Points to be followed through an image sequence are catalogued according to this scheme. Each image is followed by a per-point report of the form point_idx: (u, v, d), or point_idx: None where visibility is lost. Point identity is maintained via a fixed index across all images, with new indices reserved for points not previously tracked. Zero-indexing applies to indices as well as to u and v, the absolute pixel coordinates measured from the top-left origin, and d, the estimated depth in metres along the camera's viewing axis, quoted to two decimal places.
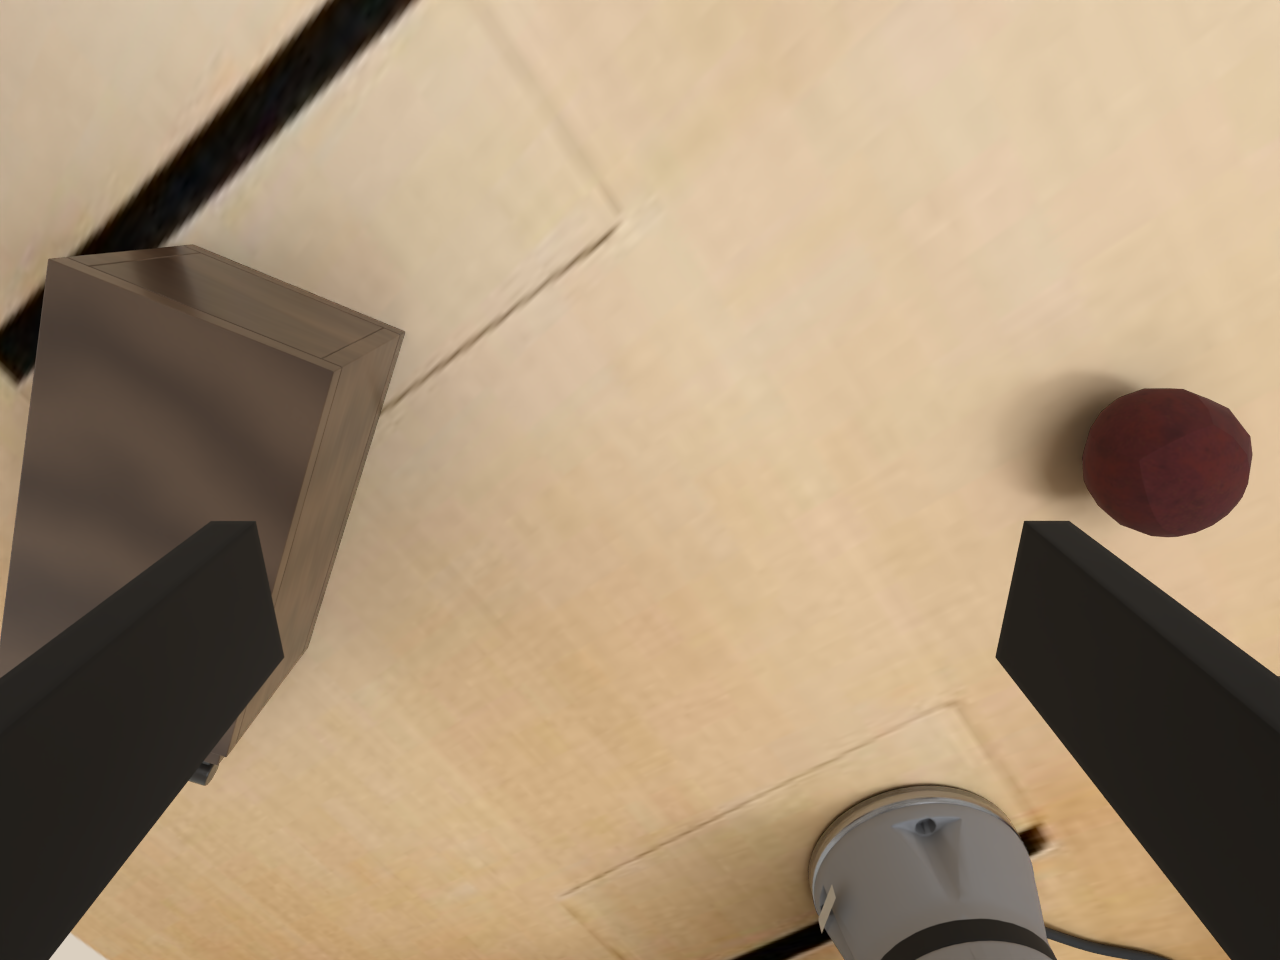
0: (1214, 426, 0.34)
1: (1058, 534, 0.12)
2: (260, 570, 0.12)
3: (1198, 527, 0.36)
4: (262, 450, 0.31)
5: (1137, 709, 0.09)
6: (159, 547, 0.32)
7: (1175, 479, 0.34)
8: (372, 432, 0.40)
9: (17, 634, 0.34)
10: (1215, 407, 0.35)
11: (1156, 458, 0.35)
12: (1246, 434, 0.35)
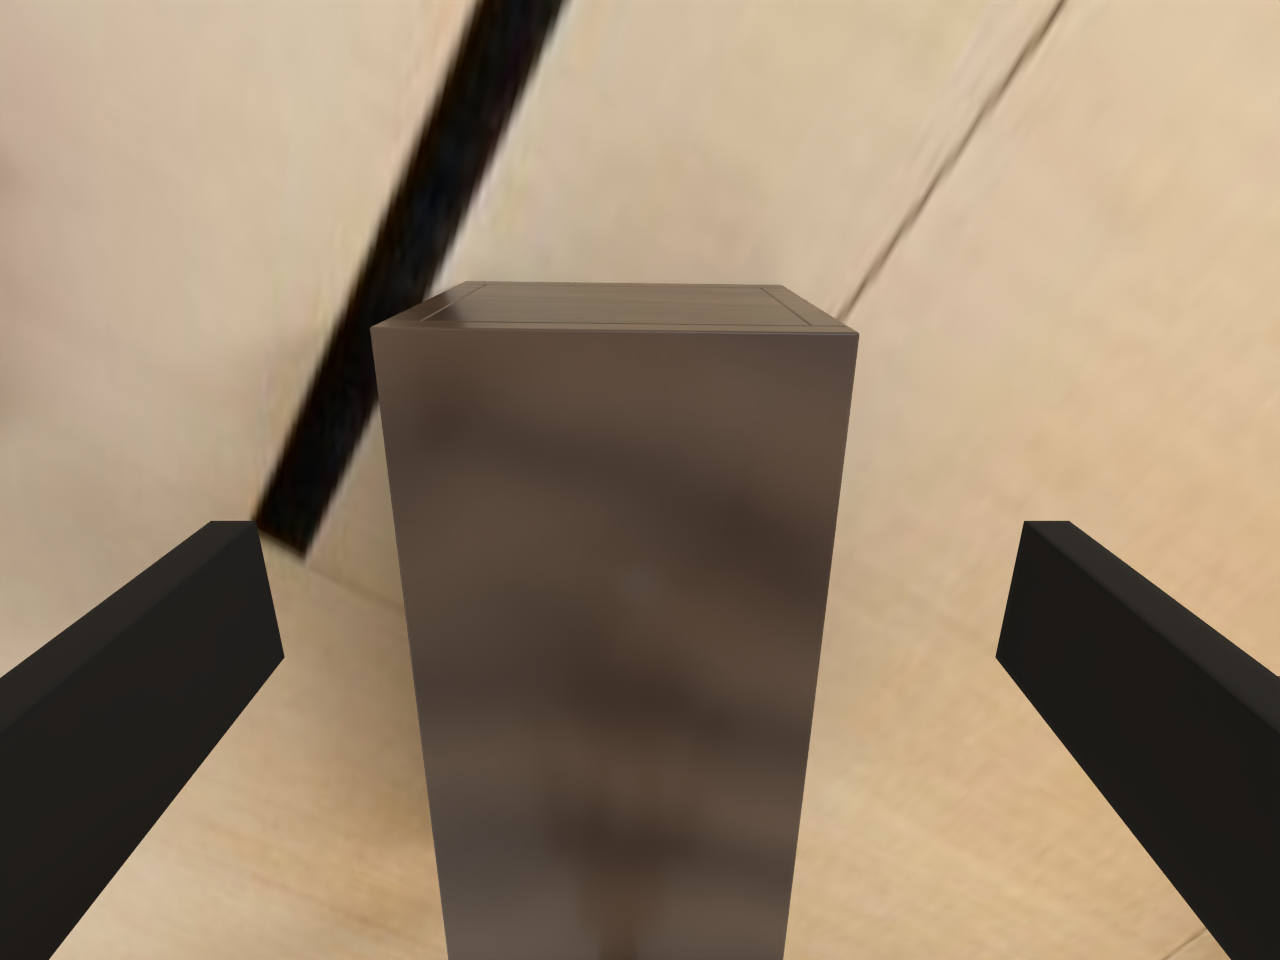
0: None
1: (1058, 534, 0.12)
2: (260, 570, 0.12)
3: None
4: (762, 511, 0.18)
5: (1137, 709, 0.09)
6: (631, 714, 0.21)
7: None
8: None
9: (463, 896, 0.23)
10: None
11: None
12: None
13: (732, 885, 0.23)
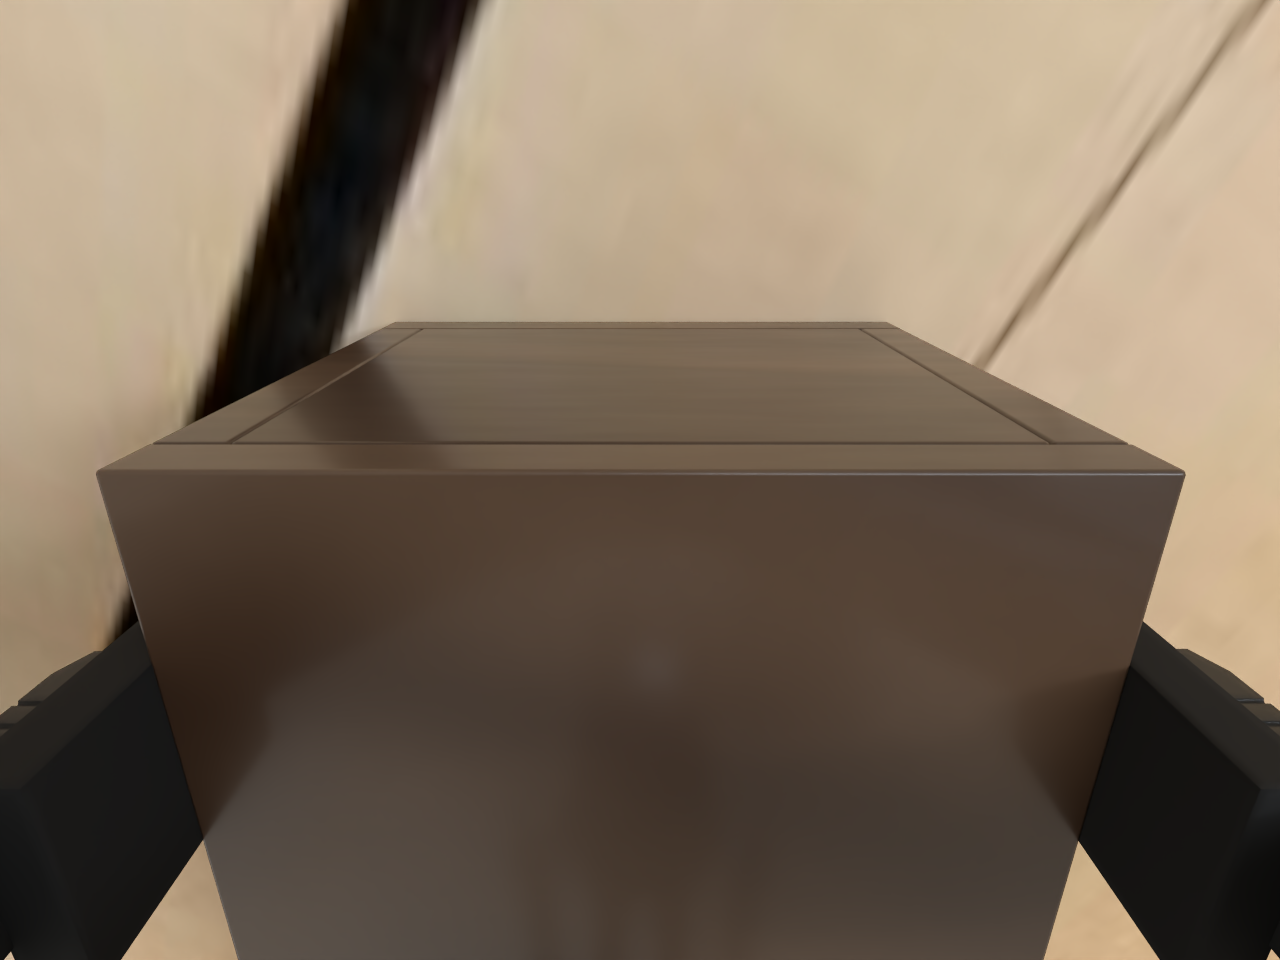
0: None
1: None
2: None
3: None
4: (936, 808, 0.09)
5: None
6: None
7: None
8: None
9: None
10: None
11: None
12: None
13: None
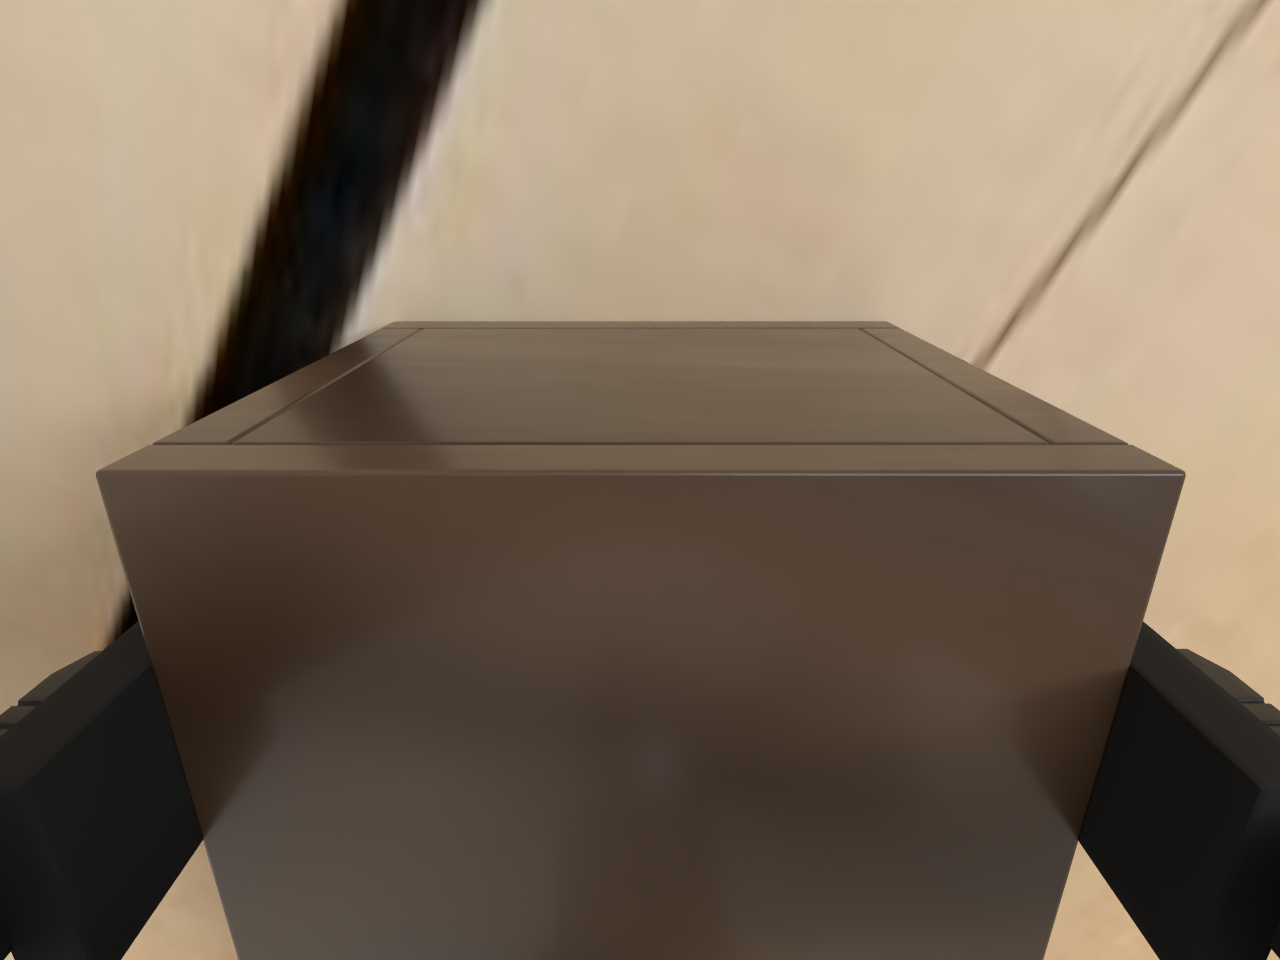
0: None
1: None
2: None
3: None
4: (936, 808, 0.09)
5: None
6: None
7: None
8: None
9: None
10: None
11: None
12: None
13: None
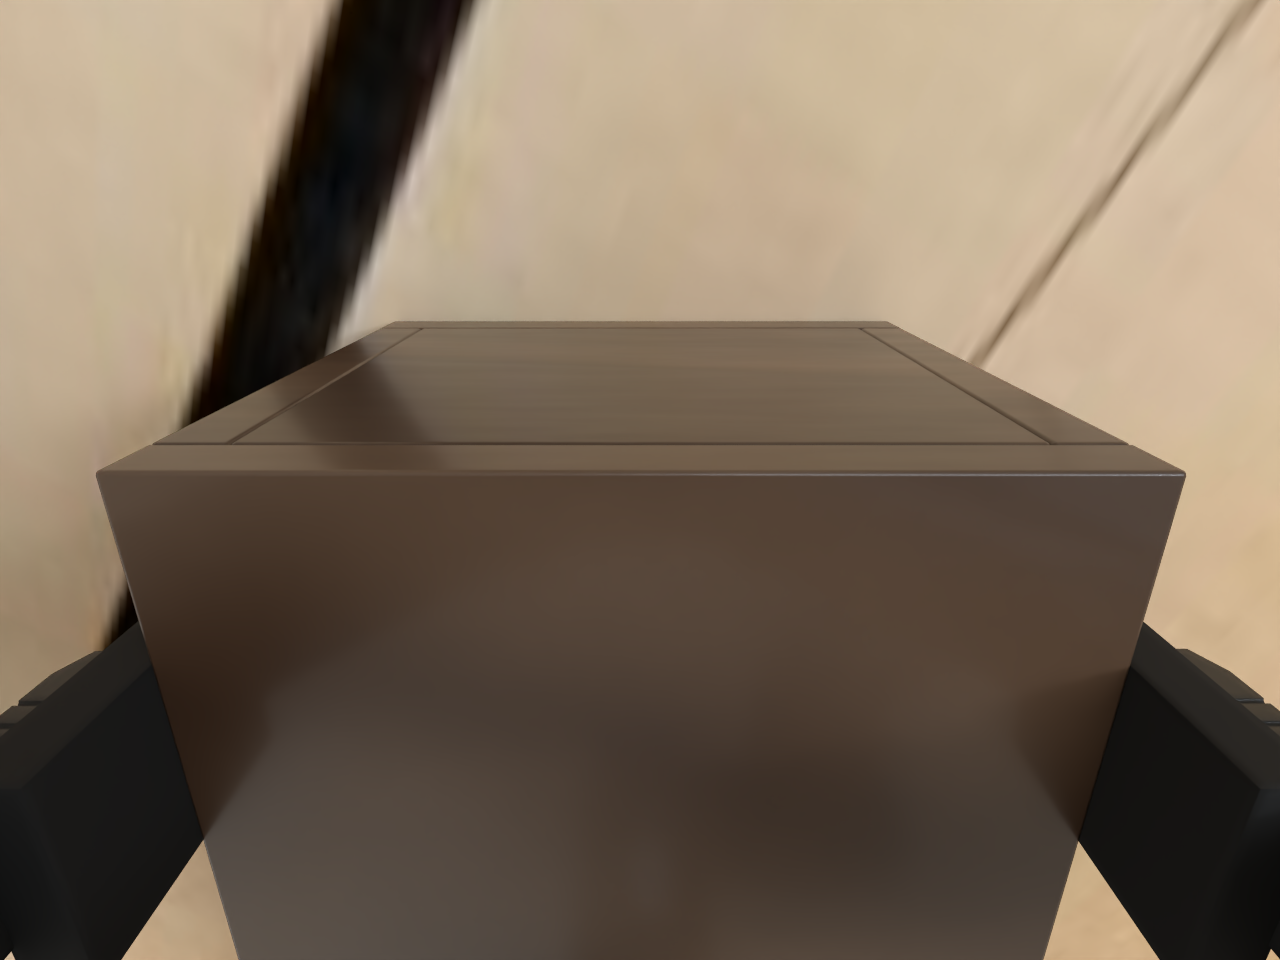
0: None
1: None
2: None
3: None
4: (936, 808, 0.09)
5: None
6: None
7: None
8: None
9: None
10: None
11: None
12: None
13: None
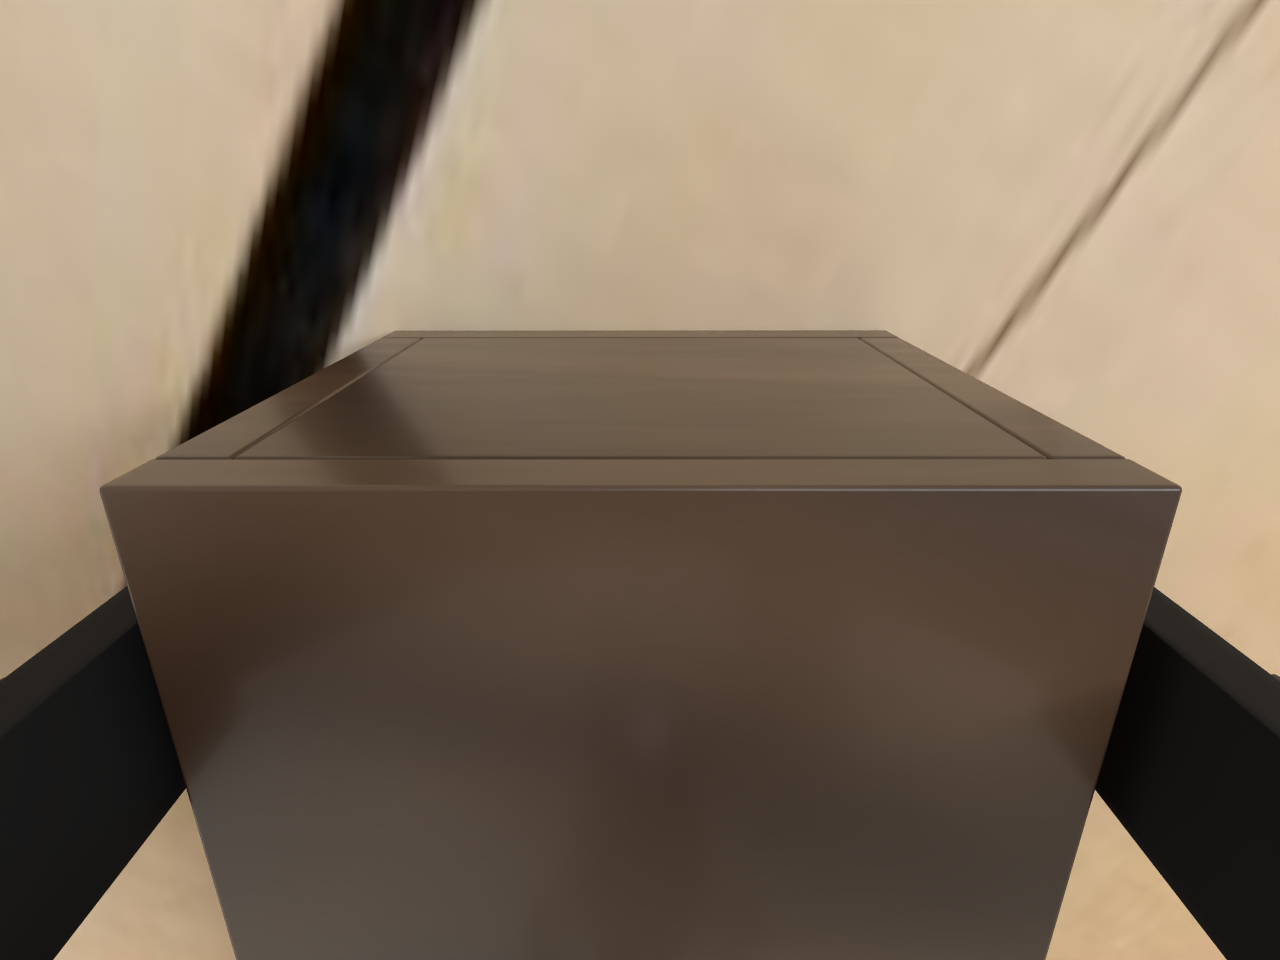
0: None
1: None
2: None
3: None
4: (935, 820, 0.09)
5: (1131, 707, 0.09)
6: None
7: None
8: None
9: None
10: None
11: None
12: None
13: None
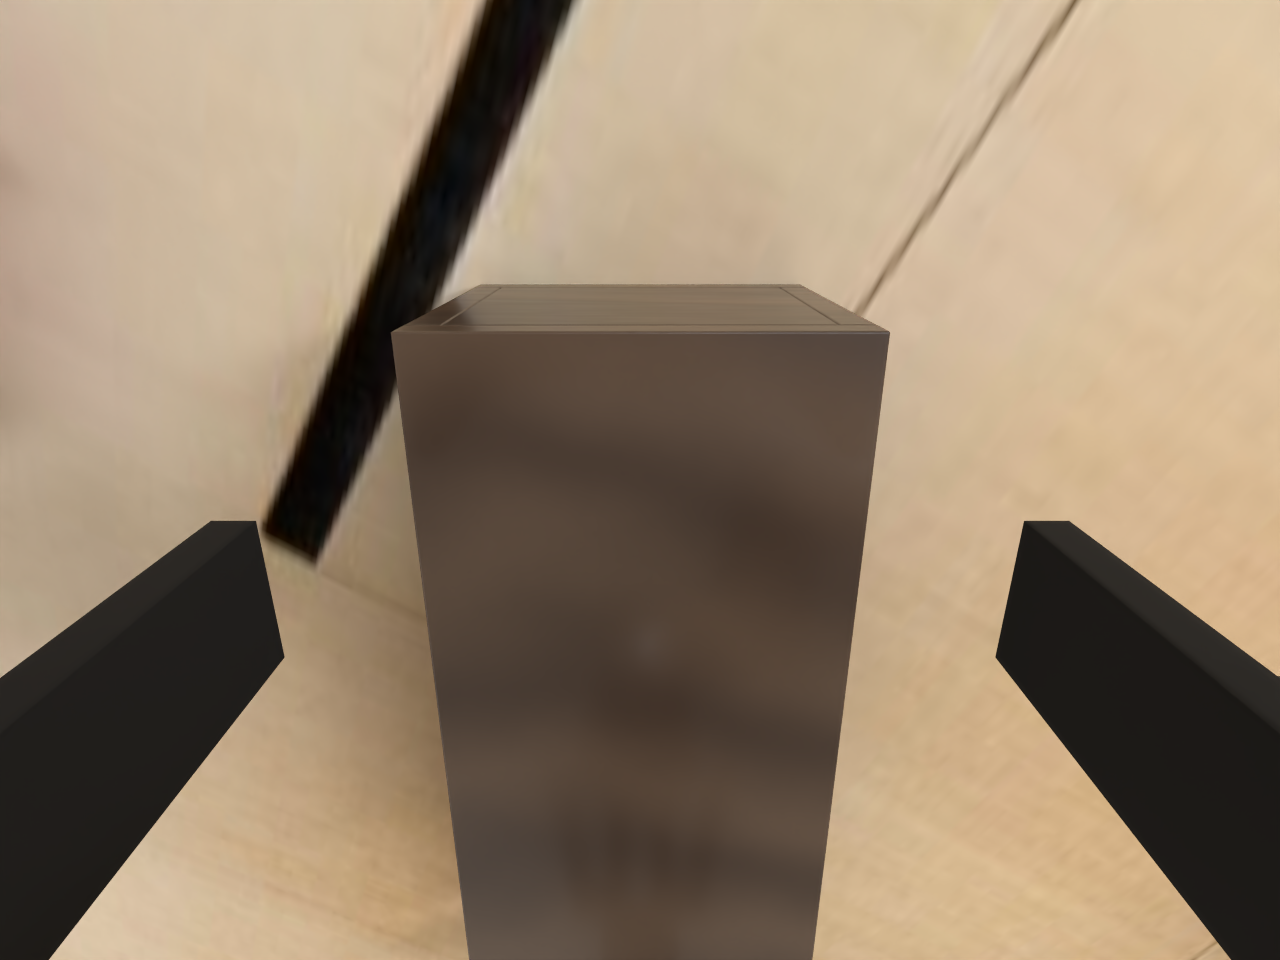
0: None
1: (1058, 534, 0.12)
2: (260, 570, 0.12)
3: None
4: (790, 514, 0.18)
5: (1137, 709, 0.09)
6: (657, 723, 0.20)
7: None
8: None
9: (486, 909, 0.23)
10: None
11: None
12: None
13: (759, 895, 0.23)
